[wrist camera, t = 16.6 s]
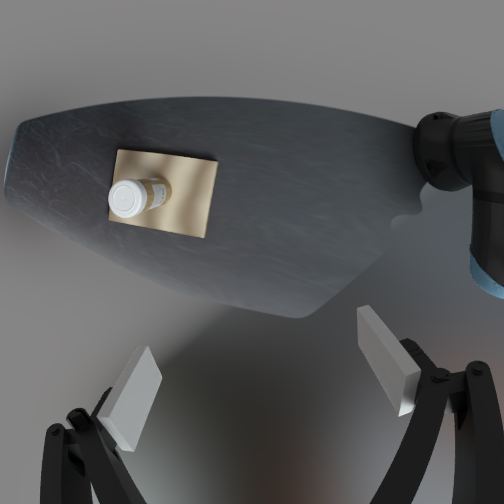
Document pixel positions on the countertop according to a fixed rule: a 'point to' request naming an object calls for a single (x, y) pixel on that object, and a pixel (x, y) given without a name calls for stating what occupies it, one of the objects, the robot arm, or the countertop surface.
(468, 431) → the robot arm
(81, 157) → the countertop surface
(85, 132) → the countertop surface
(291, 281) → the countertop surface
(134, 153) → the birch board
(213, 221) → the countertop surface
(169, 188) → the sprinkles bottle
